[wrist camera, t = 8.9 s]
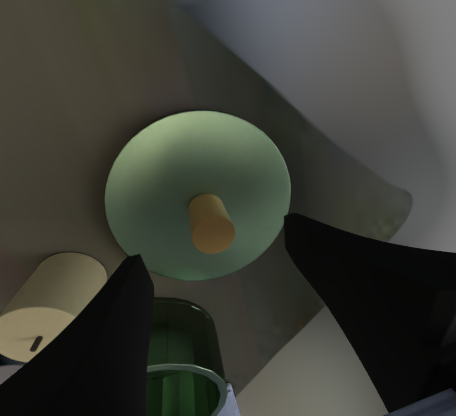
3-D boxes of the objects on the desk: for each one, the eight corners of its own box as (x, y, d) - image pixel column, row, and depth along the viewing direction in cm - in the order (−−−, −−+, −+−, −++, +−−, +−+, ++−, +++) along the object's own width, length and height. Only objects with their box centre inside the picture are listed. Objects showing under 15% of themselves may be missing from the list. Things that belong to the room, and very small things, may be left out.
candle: (116, 289, 17) (96, 360, 13) (56, 306, 17) (12, 386, 12) (92, 244, 15) (56, 308, 10) (22, 262, 15) (-48, 337, 10)
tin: (223, 356, 24) (236, 419, 19) (117, 392, 23) (103, 469, 18) (202, 282, 19) (212, 343, 14) (62, 322, 17) (21, 405, 13)
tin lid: (286, 248, 19) (314, 284, 16) (145, 288, 18) (138, 339, 14) (280, 92, 14) (321, 89, 10) (71, 131, 12) (26, 145, 8)
